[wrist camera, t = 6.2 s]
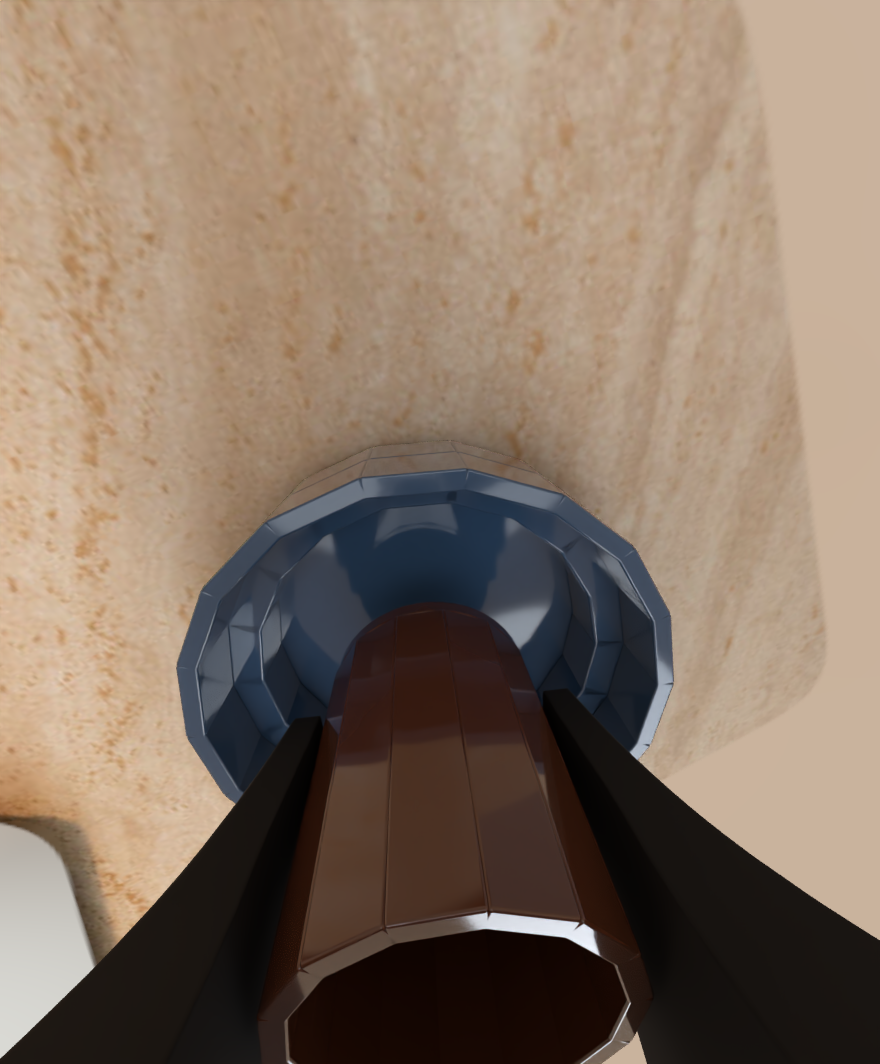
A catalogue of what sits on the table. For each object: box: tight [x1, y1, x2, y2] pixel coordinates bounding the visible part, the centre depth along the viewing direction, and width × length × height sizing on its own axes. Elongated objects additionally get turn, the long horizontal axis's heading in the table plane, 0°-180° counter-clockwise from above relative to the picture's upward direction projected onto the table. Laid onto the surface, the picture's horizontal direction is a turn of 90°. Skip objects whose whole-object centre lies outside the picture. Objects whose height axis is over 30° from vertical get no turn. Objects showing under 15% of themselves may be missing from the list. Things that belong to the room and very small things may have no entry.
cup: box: [256, 602, 654, 1064], centre depth 9 cm, size 5×6×7 cm
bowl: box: [176, 440, 674, 804], centre depth 13 cm, size 13×13×4 cm
